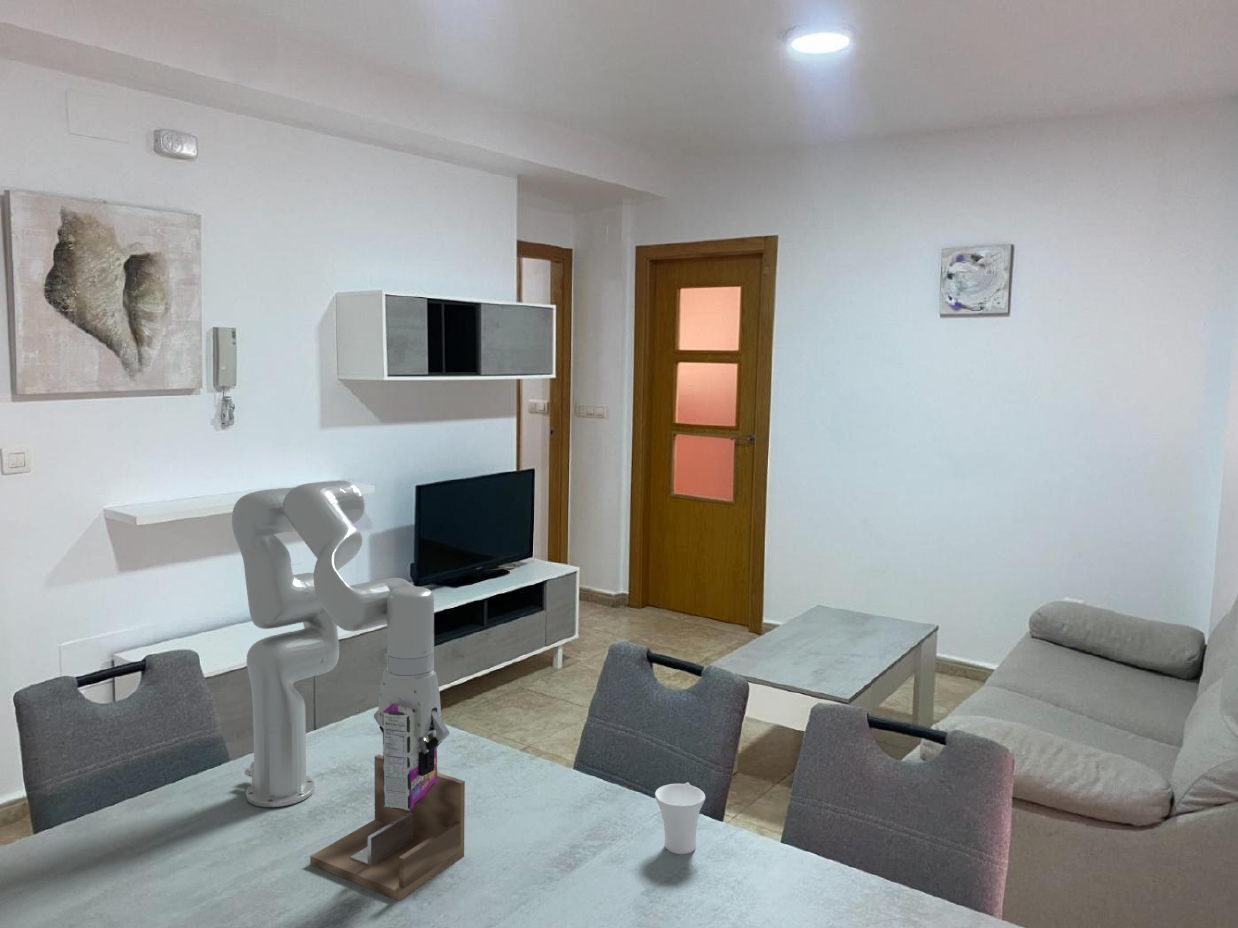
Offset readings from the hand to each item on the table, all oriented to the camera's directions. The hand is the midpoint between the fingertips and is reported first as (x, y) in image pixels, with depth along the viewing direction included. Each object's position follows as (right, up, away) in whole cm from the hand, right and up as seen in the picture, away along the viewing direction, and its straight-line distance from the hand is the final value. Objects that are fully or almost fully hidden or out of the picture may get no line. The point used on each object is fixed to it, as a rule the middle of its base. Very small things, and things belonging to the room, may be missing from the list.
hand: (410, 767), depth 154 cm
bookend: (-6, -16, +5) cm, 18 cm away
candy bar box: (0, -5, 0) cm, 5 cm away
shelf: (-5, -17, +4) cm, 19 cm away
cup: (+45, -18, +12) cm, 50 cm away
